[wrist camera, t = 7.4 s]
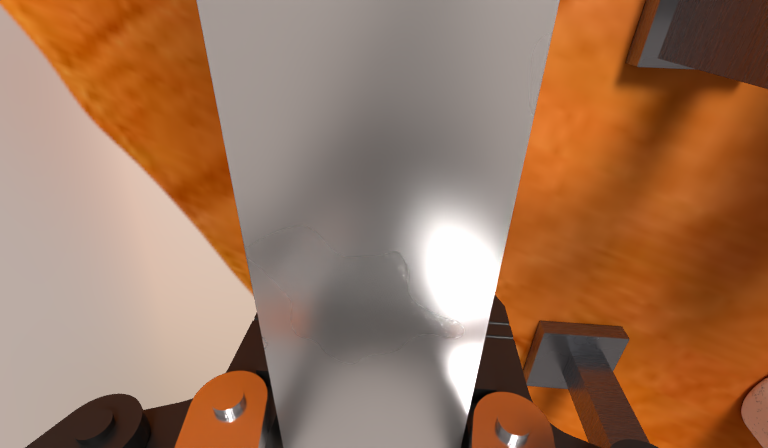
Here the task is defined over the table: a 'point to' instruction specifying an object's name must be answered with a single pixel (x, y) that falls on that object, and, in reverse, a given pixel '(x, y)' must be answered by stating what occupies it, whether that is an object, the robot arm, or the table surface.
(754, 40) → the rail stand
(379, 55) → the aluminium rail
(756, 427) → the teacup with lid
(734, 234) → the table surface
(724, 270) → the table surface
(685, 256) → the table surface
